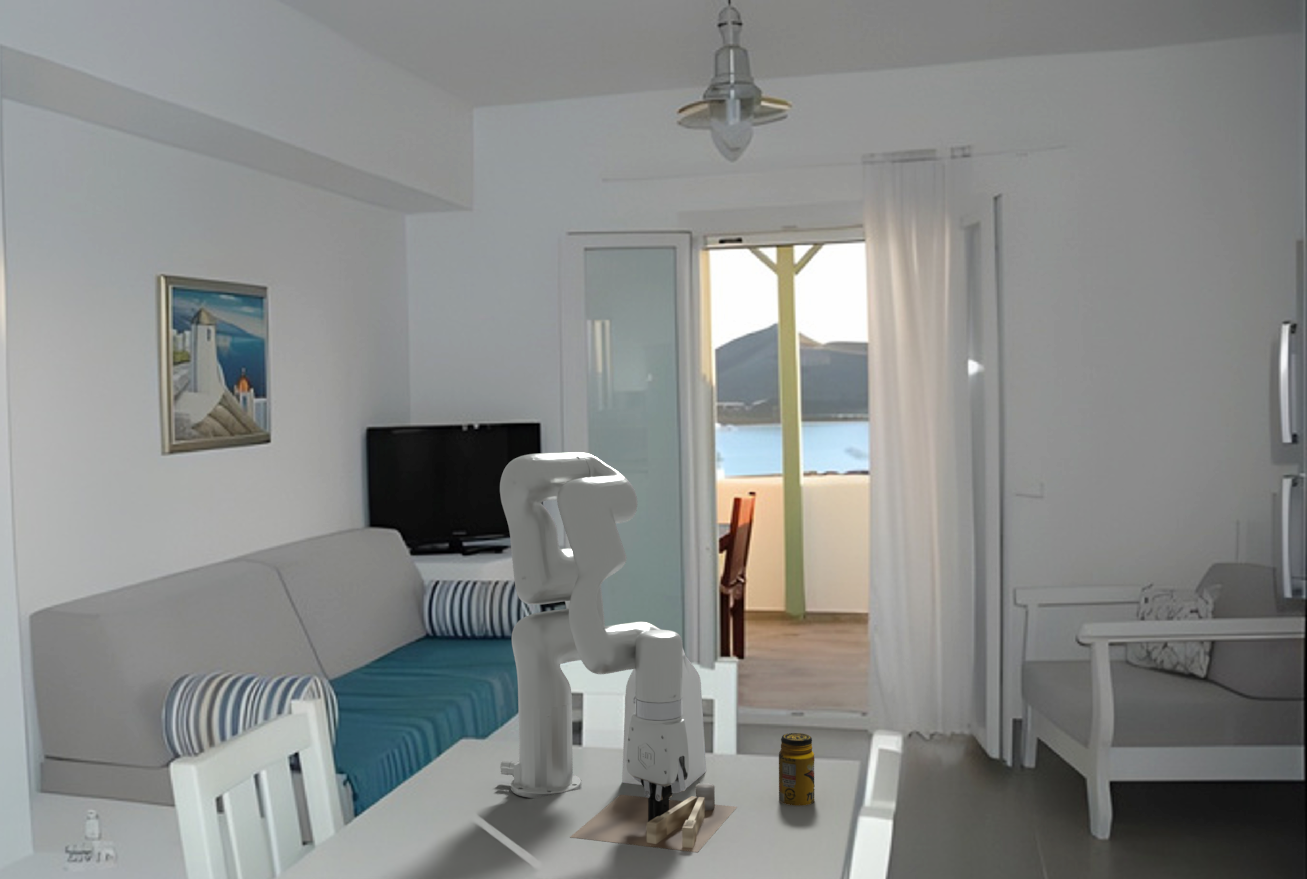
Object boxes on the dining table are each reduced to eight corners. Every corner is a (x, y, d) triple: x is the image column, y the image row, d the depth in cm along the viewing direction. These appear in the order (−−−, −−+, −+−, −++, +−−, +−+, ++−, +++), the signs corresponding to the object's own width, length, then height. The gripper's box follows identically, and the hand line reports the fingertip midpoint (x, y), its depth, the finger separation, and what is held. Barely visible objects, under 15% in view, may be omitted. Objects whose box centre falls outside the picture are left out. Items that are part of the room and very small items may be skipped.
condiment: (825, 807, 210) (825, 737, 210) (786, 817, 205) (786, 745, 205) (797, 796, 216) (797, 728, 216) (759, 805, 212) (758, 736, 211)
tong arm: (690, 813, 204) (689, 795, 204) (698, 815, 204) (698, 797, 204) (646, 842, 192) (646, 823, 191) (655, 844, 191) (655, 824, 191)
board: (569, 843, 194) (569, 837, 194) (620, 800, 215) (620, 794, 215) (697, 858, 187) (697, 852, 187) (737, 812, 208) (737, 806, 208)
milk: (621, 788, 222) (620, 643, 221) (646, 770, 232) (644, 632, 232) (684, 795, 217) (683, 648, 216) (706, 776, 228) (705, 636, 227)
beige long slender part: (697, 803, 209) (697, 782, 209) (715, 804, 209) (715, 783, 209) (677, 846, 189) (677, 823, 189) (697, 848, 189) (697, 824, 189)
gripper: (609, 704, 200) (609, 816, 201) (676, 722, 190) (676, 840, 191) (642, 696, 206) (642, 805, 206) (709, 713, 195) (708, 827, 196)
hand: (658, 821), depth 199 cm, fingers closed
